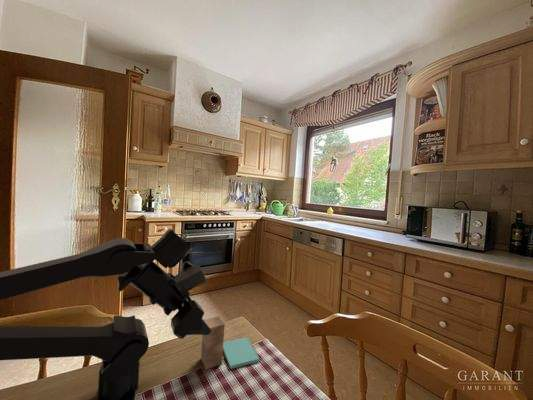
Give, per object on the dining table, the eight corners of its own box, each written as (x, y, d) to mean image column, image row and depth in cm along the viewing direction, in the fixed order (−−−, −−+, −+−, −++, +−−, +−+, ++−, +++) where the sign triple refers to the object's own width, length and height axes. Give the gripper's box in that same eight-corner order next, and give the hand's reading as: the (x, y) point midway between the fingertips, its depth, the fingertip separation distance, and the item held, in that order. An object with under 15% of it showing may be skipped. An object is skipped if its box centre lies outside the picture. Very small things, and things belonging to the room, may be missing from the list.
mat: (230, 369, 56) (230, 365, 56) (221, 345, 64) (221, 342, 64) (259, 361, 59) (259, 358, 59) (247, 340, 67) (247, 337, 67)
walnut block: (205, 369, 55) (208, 328, 55) (200, 358, 59) (203, 319, 58) (221, 364, 57) (224, 324, 57) (216, 353, 61) (218, 316, 60)
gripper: (196, 268, 45) (243, 312, 51) (177, 245, 61) (215, 281, 67) (148, 317, 41) (206, 358, 47) (141, 279, 57) (185, 314, 63)
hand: (203, 322), depth 56 cm, fingers open, 9 cm apart
